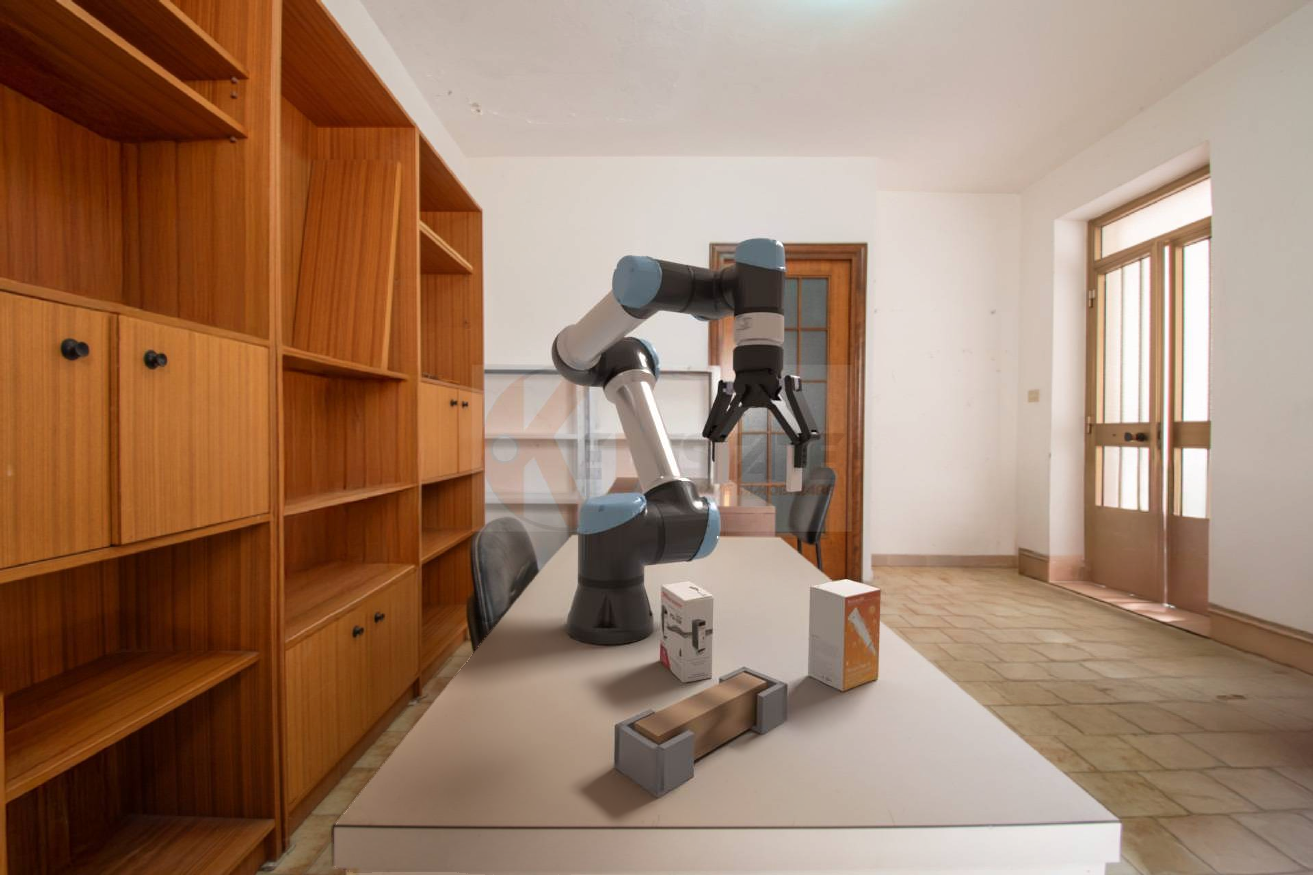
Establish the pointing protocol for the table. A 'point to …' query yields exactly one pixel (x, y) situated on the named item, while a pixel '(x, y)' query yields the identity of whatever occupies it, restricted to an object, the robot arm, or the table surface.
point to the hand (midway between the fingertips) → (755, 487)
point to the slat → (708, 714)
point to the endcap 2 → (766, 700)
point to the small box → (844, 633)
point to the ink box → (686, 630)
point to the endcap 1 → (653, 757)
